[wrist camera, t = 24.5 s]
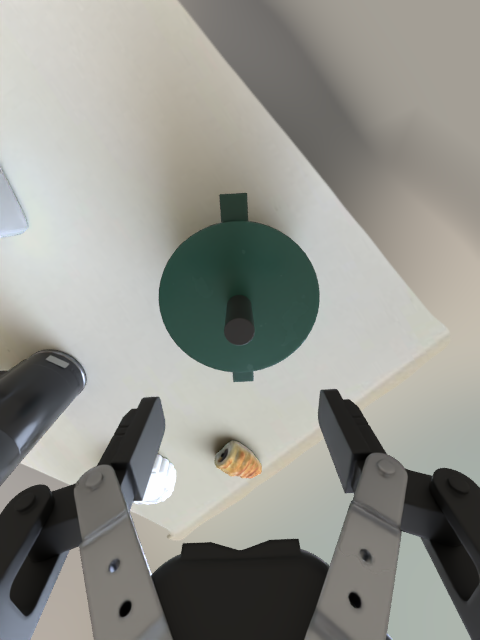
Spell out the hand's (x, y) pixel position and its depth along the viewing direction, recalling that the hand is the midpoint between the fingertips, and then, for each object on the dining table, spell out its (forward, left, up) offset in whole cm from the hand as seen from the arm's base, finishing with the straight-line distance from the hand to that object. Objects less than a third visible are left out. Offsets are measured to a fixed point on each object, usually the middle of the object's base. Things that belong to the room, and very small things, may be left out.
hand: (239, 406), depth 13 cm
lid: (0, 0, -14) cm, 14 cm away
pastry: (-2, -36, -26) cm, 44 cm away
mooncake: (-21, -40, -26) cm, 52 cm away
